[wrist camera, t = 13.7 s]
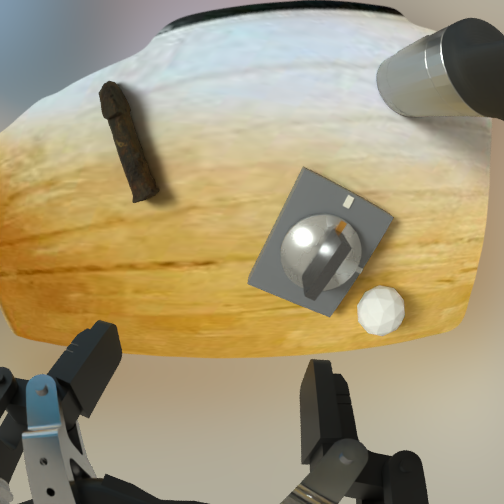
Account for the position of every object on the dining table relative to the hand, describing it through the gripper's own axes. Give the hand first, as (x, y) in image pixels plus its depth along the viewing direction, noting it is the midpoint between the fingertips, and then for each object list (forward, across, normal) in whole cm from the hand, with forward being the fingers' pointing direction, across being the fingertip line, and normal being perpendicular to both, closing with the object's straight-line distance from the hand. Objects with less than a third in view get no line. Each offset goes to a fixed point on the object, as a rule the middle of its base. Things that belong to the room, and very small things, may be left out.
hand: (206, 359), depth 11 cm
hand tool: (+31, +20, -6) cm, 37 cm away
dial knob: (+27, -10, +6) cm, 30 cm away
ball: (+30, -21, +14) cm, 40 cm away
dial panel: (+30, -10, +6) cm, 32 cm away
